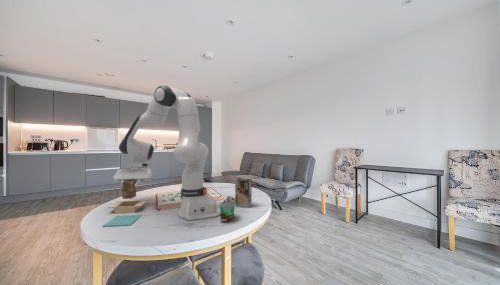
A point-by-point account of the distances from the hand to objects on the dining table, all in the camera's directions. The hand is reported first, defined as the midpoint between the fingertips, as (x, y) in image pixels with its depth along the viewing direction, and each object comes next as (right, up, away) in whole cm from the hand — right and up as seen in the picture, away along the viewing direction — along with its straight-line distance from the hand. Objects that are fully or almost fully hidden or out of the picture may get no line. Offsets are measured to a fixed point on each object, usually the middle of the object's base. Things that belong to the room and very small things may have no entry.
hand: (128, 187), depth 108 cm
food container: (+59, -14, -12) cm, 61 cm away
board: (+7, -13, -15) cm, 21 cm away
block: (0, -6, +1) cm, 6 cm away
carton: (0, -13, +1) cm, 13 cm away
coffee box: (+65, -14, +9) cm, 67 cm away
